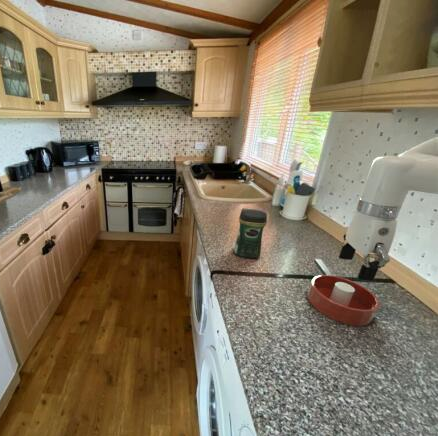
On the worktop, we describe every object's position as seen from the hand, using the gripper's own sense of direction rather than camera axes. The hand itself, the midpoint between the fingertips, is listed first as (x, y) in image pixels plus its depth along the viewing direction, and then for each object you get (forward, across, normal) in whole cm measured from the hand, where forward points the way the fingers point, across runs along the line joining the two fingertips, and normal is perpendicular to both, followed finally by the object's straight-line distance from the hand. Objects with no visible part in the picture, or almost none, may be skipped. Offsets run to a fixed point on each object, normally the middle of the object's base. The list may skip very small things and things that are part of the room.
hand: (354, 268), depth 65 cm
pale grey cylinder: (+12, 0, +1) cm, 12 cm away
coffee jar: (+12, +24, +23) cm, 35 cm away
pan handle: (+9, +13, +1) cm, 16 cm away
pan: (+13, 0, +1) cm, 13 cm away
